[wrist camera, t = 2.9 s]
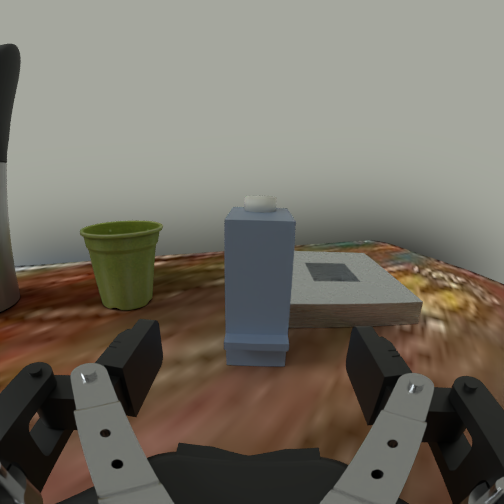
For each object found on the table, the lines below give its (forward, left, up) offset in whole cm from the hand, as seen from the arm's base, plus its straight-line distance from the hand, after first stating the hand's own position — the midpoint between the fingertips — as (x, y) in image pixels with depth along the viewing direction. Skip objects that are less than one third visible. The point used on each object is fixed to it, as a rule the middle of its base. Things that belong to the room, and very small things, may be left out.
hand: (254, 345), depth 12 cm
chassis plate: (-11, +24, -7) cm, 27 cm away
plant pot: (-24, +3, -7) cm, 25 cm away
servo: (-8, +8, -7) cm, 13 cm away
